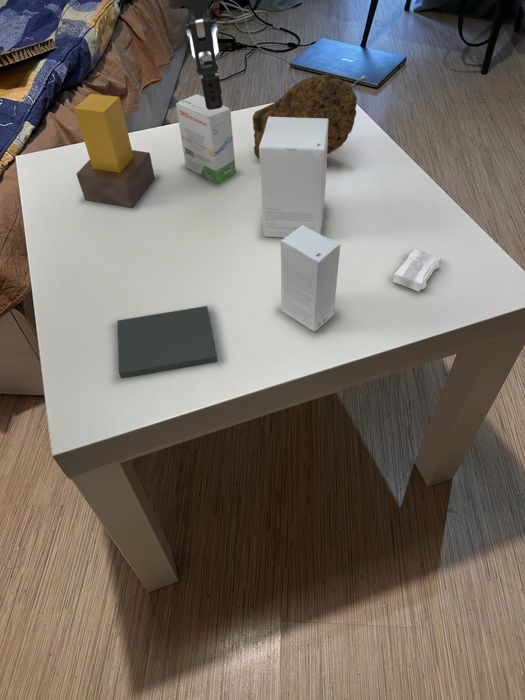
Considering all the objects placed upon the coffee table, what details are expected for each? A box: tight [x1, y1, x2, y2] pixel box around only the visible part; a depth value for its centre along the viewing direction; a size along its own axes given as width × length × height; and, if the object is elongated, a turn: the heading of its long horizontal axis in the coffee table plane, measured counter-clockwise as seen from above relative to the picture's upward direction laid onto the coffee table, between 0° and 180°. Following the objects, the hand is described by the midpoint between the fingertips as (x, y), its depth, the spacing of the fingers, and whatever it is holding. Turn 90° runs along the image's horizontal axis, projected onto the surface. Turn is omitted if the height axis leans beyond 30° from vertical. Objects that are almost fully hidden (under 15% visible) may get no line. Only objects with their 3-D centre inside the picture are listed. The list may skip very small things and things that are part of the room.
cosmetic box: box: [280, 225, 341, 333], centre depth 66 cm, size 6×4×12 cm
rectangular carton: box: [259, 117, 328, 239], centre depth 77 cm, size 9×9×15 cm
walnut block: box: [76, 149, 156, 209], centre depth 89 cm, size 9×9×5 cm
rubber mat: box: [117, 305, 218, 379], centre depth 67 cm, size 12×9×1 cm
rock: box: [252, 74, 358, 160], centre depth 92 cm, size 13×12×20 cm
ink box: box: [175, 93, 237, 185], centre depth 89 cm, size 8×5×12 cm, turn 47°
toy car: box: [392, 248, 442, 292], centre depth 74 cm, size 5×8×2 cm, turn 146°
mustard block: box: [74, 93, 134, 173], centre depth 83 cm, size 5×5×10 cm
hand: (214, 102), depth 73 cm, fingers open, 8 cm apart
